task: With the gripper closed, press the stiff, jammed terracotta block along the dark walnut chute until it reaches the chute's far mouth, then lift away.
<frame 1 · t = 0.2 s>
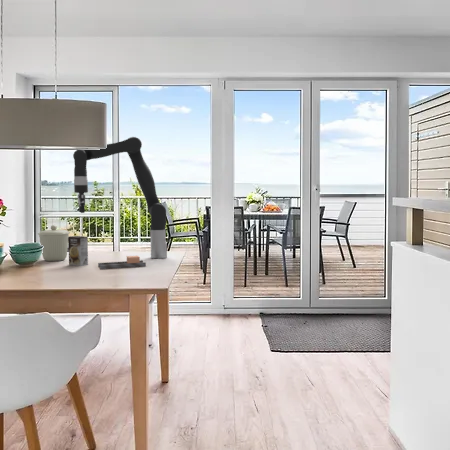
hand: (81, 212, 293), 29 cm above the table, fingers open, 8 cm apart
chute: (122, 268, 272), on the table
block: (133, 261, 274), point 4 cm above the table, slide at 0.0 cm
canister: (54, 260, 305), on the table
coffee box: (78, 265, 286), on the table
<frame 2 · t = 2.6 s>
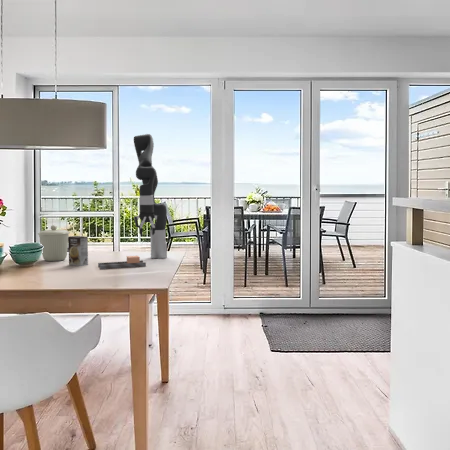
hand: (147, 234, 275), 18 cm above the table, fingers open, 5 cm apart
nothing on the table moved.
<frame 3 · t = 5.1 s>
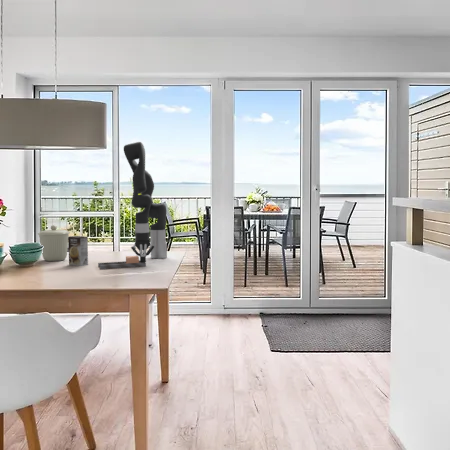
hand: (143, 263, 276), 2 cm above the table, fingers closed
block: (132, 261, 274), point 4 cm above the table, slide at 0.4 cm, touching gripper
everything else where it was.
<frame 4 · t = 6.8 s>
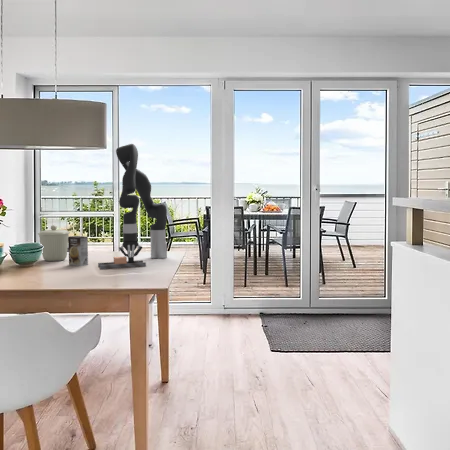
hand: (130, 264, 273), 2 cm above the table, fingers closed
block: (120, 262, 272), point 4 cm above the table, slide at 6.9 cm, touching gripper
everything else where it was.
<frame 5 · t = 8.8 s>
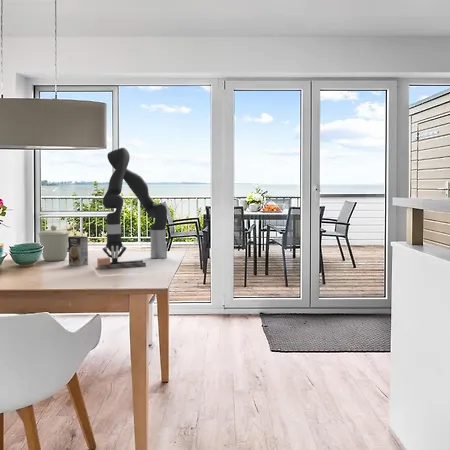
hand: (114, 265, 270), 2 cm above the table, fingers closed
block: (103, 263, 269), point 4 cm above the table, slide at 15.5 cm, touching gripper
everything else where it was.
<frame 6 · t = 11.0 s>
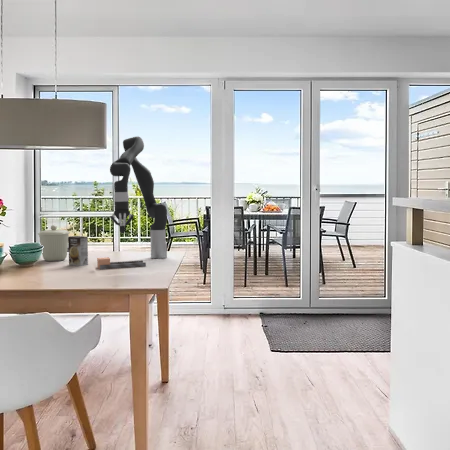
hand: (122, 232, 272), 19 cm above the table, fingers closed
block: (103, 263, 269), point 4 cm above the table, slide at 15.6 cm
everything else where it was.
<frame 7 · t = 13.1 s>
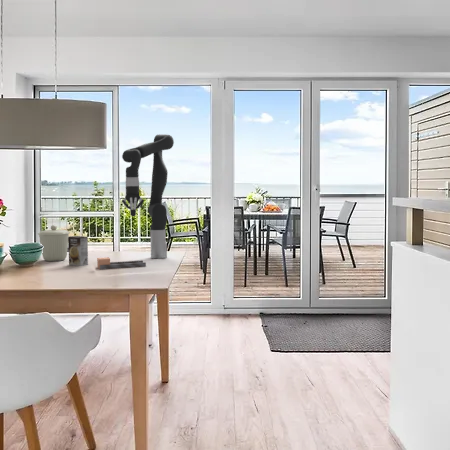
hand: (133, 216, 286), 27 cm above the table, fingers closed
nothing on the table moved.
at the end: block slide at 15.6 cm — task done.
